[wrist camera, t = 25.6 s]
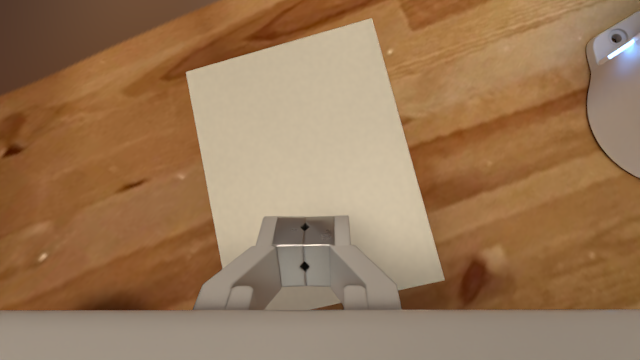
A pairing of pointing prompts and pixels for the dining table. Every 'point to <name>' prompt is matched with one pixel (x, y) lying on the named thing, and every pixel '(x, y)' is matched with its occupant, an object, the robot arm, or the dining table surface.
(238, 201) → the lid
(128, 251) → the dining table surface
